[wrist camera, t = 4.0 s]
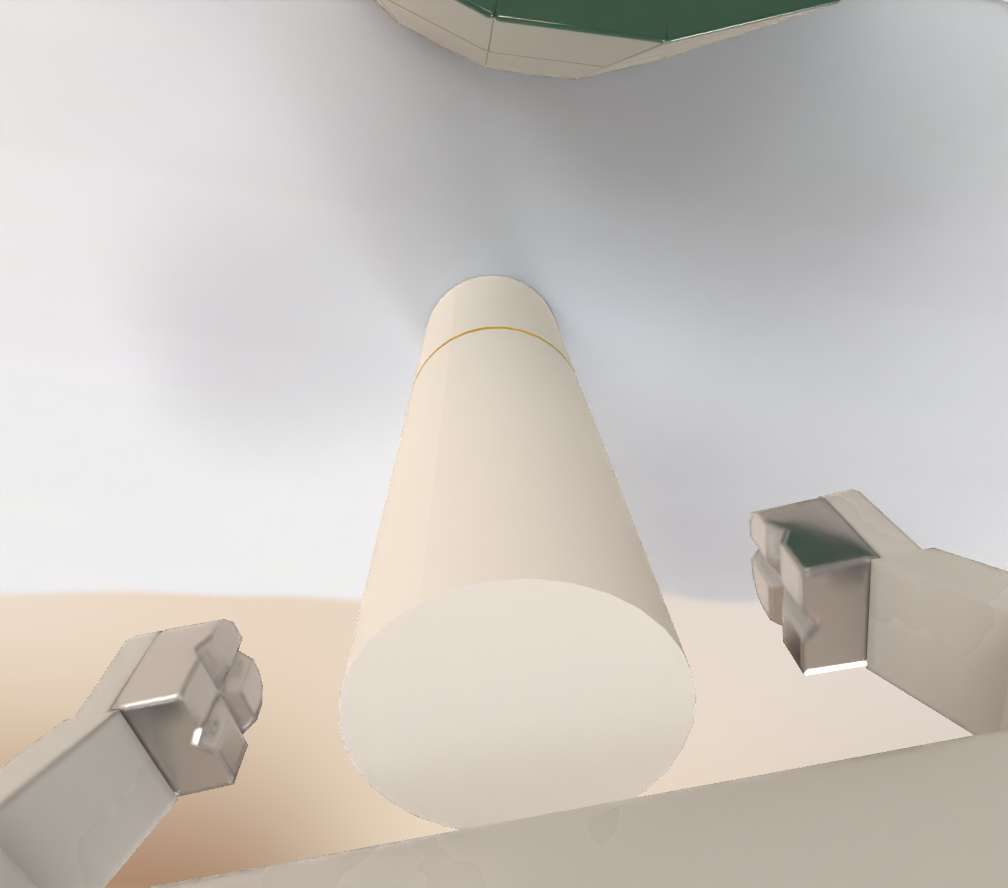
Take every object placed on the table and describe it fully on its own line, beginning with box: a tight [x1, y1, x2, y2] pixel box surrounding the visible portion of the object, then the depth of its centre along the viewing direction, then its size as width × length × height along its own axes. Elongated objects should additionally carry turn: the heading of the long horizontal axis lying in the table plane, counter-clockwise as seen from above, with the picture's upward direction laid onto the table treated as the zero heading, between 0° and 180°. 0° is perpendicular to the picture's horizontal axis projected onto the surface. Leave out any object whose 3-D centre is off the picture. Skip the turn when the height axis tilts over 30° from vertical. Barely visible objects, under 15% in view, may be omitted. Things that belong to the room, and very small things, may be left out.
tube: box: [338, 275, 696, 830], centre depth 15 cm, size 4×4×15 cm
